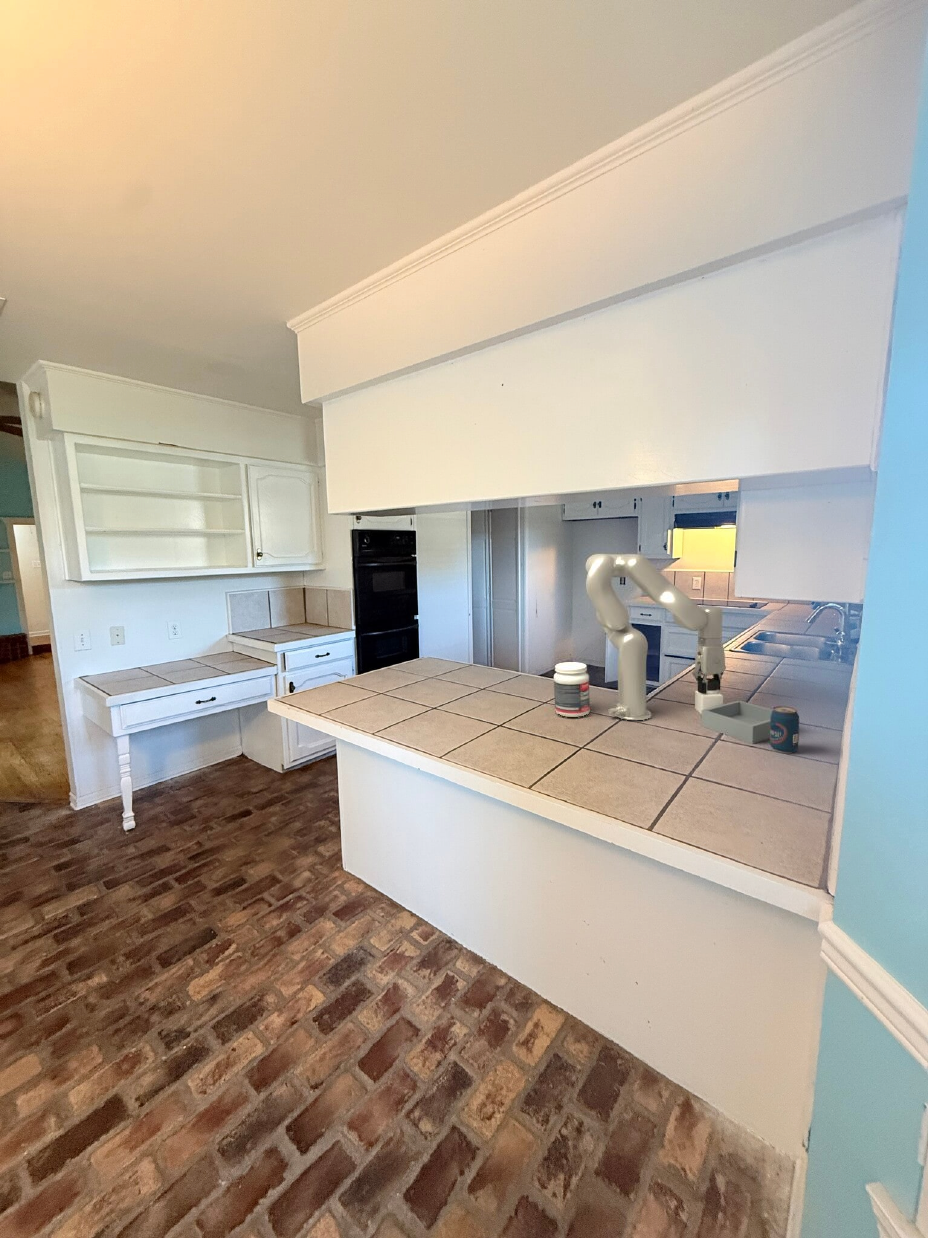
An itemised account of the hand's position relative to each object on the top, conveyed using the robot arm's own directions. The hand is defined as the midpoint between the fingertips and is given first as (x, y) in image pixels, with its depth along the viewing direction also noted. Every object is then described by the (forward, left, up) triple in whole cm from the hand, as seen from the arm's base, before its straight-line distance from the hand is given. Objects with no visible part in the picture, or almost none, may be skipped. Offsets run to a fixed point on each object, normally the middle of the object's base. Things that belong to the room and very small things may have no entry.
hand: (708, 690), depth 174 cm
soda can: (-9, -33, -8) cm, 35 cm away
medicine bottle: (0, 0, -8) cm, 8 cm away
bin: (-4, -17, -8) cm, 19 cm away
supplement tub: (-40, +26, -8) cm, 49 cm away
